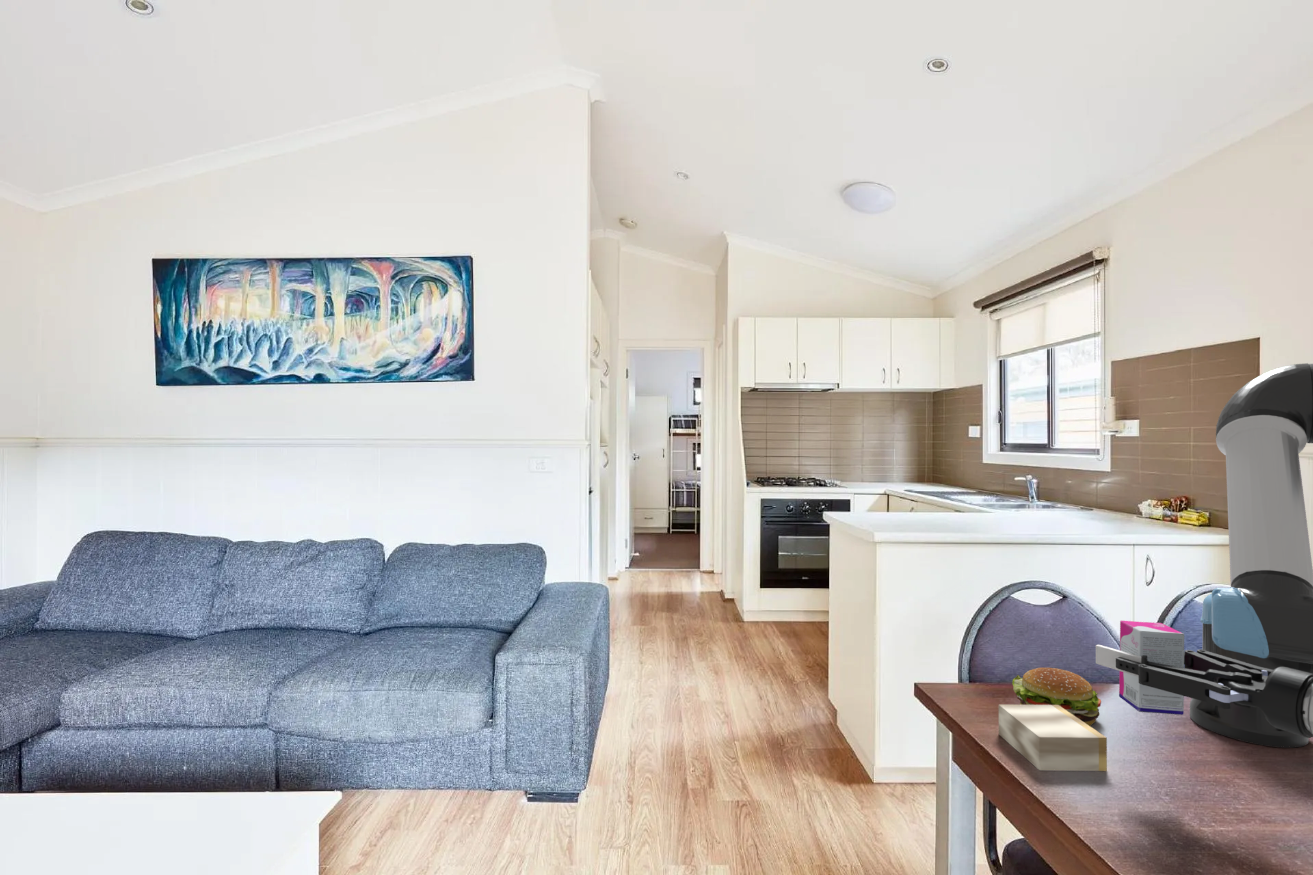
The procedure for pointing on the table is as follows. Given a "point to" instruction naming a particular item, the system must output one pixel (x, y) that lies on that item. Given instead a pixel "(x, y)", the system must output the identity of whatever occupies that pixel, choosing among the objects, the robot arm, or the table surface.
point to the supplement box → (1158, 648)
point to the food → (1058, 692)
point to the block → (1053, 738)
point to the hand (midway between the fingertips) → (1115, 649)
